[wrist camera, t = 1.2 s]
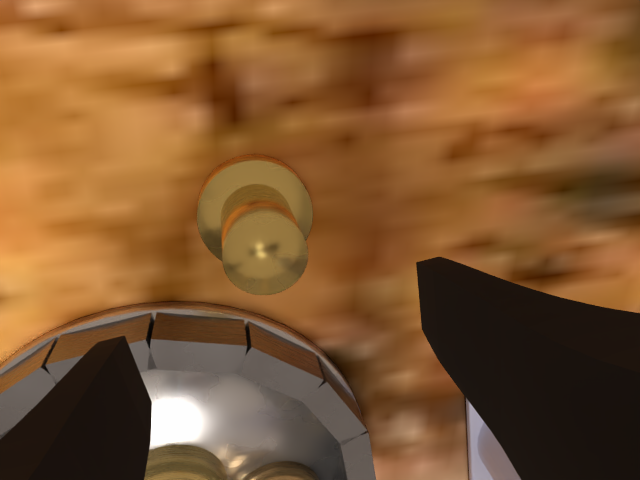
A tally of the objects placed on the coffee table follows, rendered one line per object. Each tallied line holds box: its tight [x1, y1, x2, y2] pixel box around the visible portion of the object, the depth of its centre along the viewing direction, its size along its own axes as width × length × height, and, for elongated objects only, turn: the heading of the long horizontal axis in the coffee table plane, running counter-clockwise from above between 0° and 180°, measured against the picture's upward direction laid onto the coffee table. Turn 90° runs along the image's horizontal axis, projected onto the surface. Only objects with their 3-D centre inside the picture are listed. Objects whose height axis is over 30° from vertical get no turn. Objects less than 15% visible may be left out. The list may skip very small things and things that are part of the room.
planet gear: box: [197, 154, 313, 295], centre depth 18 cm, size 5×5×5 cm
